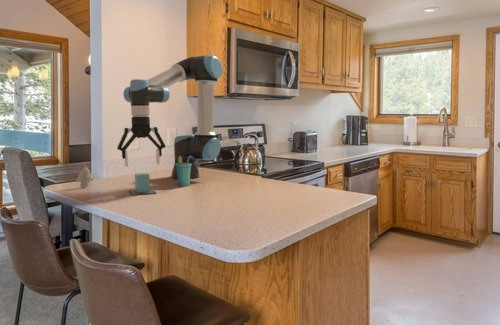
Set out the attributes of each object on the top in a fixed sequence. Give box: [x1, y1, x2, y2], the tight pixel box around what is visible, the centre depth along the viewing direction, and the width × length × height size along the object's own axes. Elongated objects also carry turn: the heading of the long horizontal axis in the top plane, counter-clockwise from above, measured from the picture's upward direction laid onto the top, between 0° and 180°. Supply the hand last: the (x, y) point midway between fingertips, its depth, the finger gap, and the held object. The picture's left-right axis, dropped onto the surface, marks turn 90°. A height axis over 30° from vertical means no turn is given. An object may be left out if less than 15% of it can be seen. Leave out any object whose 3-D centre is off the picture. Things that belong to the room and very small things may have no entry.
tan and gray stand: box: [128, 188, 157, 196], centre depth 172 cm, size 10×10×7 cm
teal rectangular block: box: [134, 172, 151, 193], centre depth 172 cm, size 5×5×8 cm
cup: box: [176, 156, 194, 187], centre depth 189 cm, size 14×8×15 cm, turn 46°
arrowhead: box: [76, 166, 94, 189], centre depth 182 cm, size 8×3×10 cm, turn 139°
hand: (142, 165), depth 171 cm, fingers open, 13 cm apart
